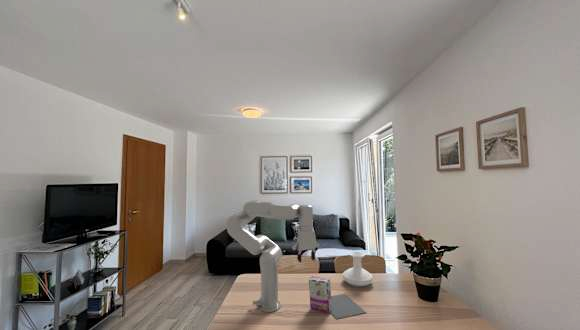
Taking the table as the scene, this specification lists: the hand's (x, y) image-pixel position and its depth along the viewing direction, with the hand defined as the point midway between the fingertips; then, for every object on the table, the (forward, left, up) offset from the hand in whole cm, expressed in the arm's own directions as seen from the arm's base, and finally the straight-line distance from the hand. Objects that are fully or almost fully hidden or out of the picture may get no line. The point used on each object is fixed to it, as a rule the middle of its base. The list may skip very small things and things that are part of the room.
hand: (306, 260), depth 134 cm
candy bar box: (+9, 0, -28) cm, 29 cm away
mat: (+21, 0, -28) cm, 35 cm away
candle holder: (+47, +23, -28) cm, 59 cm away
